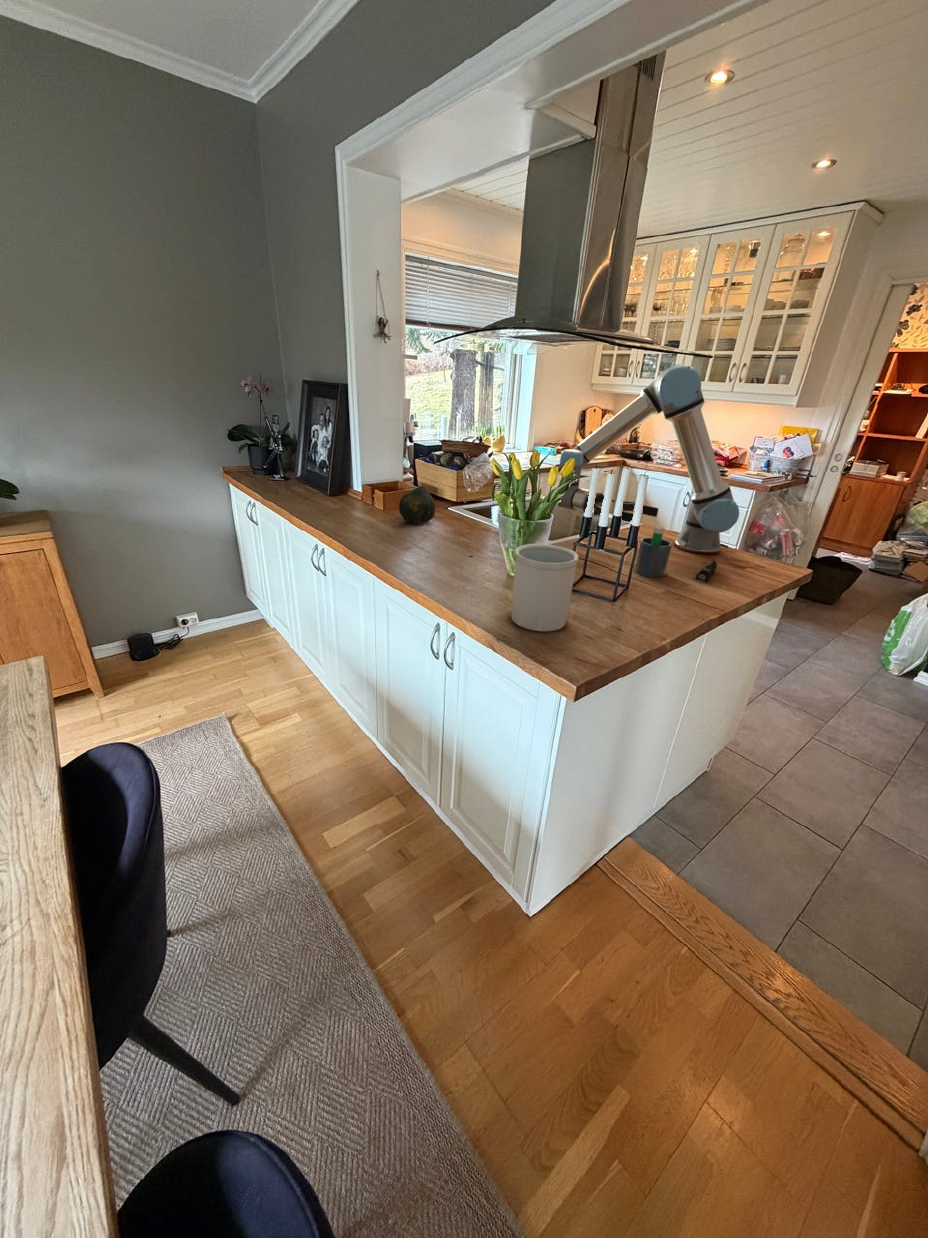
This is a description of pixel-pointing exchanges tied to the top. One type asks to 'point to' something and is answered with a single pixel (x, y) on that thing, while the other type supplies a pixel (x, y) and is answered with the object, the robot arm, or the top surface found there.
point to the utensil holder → (542, 586)
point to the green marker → (657, 535)
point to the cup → (652, 558)
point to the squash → (417, 505)
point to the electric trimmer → (706, 572)
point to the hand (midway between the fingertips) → (646, 515)
